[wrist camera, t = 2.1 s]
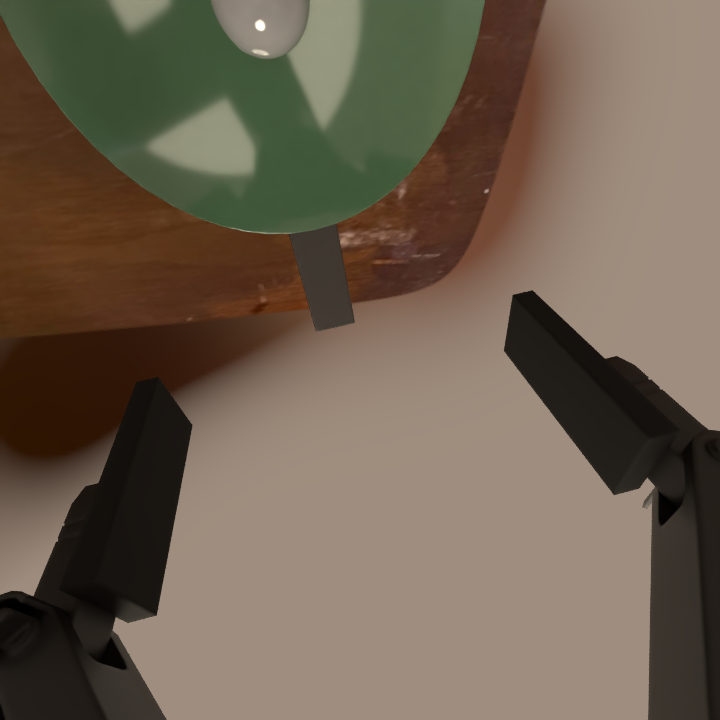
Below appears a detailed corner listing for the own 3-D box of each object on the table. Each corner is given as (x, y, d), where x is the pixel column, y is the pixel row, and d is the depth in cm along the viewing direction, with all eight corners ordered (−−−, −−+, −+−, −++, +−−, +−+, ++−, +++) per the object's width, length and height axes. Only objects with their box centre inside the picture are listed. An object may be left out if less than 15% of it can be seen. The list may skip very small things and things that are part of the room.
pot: (28, -195, 13) (-580, -787, 4) (376, -248, 14) (626, -871, 4) (231, 282, 26) (213, 424, 17) (405, 243, 27) (483, 358, 17)
